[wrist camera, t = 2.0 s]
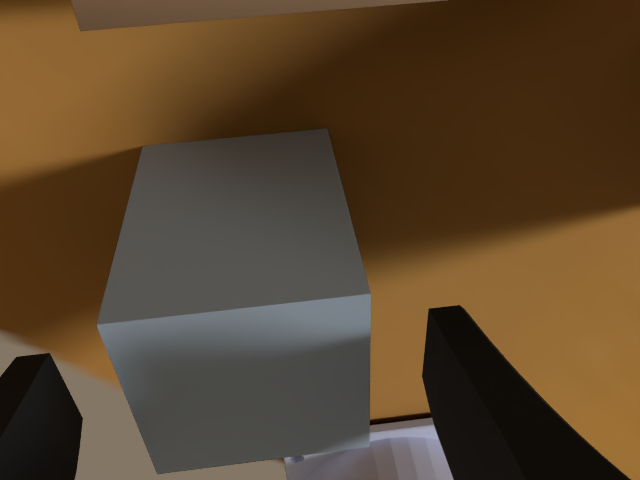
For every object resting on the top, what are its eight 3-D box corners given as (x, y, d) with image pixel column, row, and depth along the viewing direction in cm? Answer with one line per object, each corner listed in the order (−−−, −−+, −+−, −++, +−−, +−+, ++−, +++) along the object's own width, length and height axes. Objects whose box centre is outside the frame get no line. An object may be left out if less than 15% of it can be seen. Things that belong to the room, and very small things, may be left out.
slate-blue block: (333, 265, 17) (369, 446, 13) (179, 282, 17) (157, 473, 12) (327, 127, 14) (371, 294, 10) (142, 145, 14) (96, 324, 9)
